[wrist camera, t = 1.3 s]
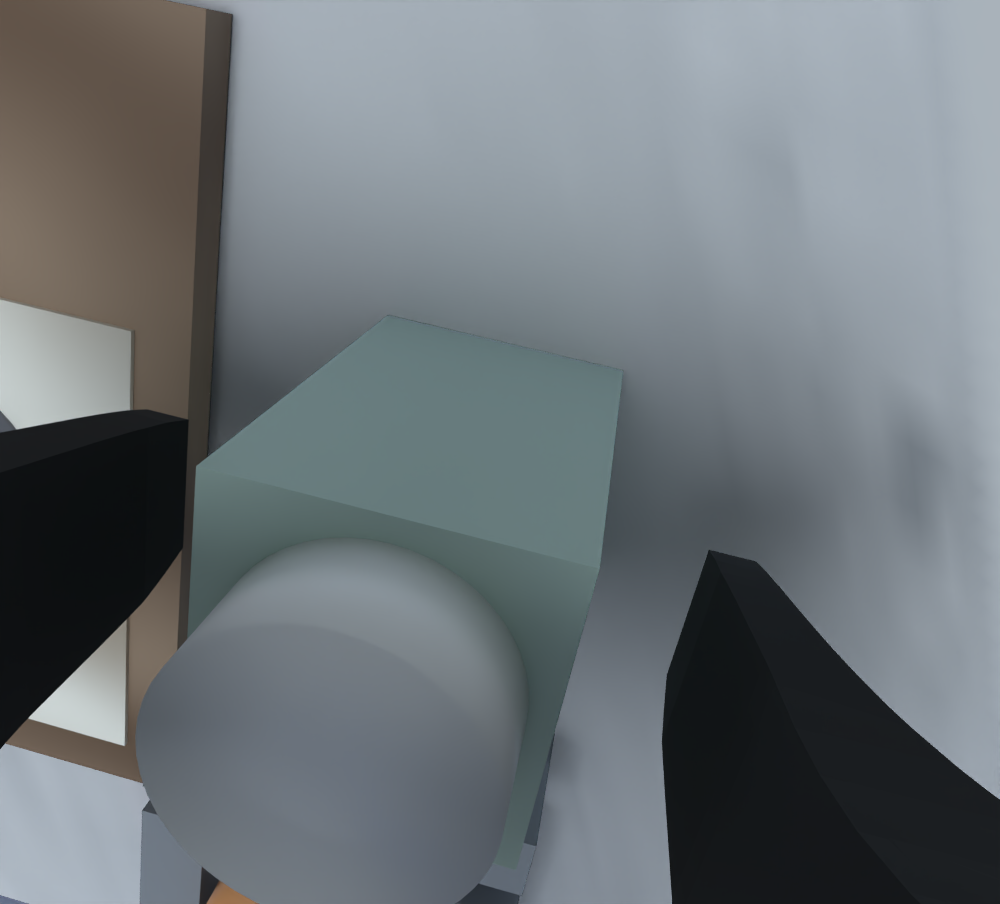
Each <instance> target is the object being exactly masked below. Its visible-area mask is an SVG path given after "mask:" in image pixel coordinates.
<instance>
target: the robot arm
mask: <svg viewBox="0 0 1000 904" xmlns="http://www.w3.org/2000/svg"><path fill="white" fill-rule="evenodd" d="M188 427H189V420H188V419H184V418H180V417H176V416H172V415H168V414H164V413H160V412H156V411H152V410H148V409H142V410H126V411H118V412H110V413H104V414H98V415H92V416H86V417H80V418H75V419H70V420H64V421H59V422H53V423H48V424H43V425H38V426H32V427H27V428H22V429H16V430H11V431H6V432H1V433H0V749H1V748H2V746H3V745H4V744H5V743H6V742H7V741H8V740H9V739H10V737H11V736H12V735H13V734H14V733H15V732H16V731H17V730H18V729H19V728H20V727H21V725H22V724H23V723H24V722H25V721H26V720H27V719H28V718H29V717H30V716H31V715H32V714H33V713H34V712H35V711H36V710H37V709H38V708H39V707H40V706H41V705H42V704H43V703H44V702H45V701H46V700H47V699H48V698H49V697H50V696H51V695H52V694H53V693H54V692H55V691H56V690H57V689H58V688H59V687H60V686H61V685H62V684H63V683H64V682H65V681H66V680H67V679H68V678H69V677H70V676H71V675H72V674H73V673H74V672H75V671H76V670H77V669H78V668H79V667H80V666H81V665H82V664H83V663H84V662H85V661H86V660H87V659H88V658H89V657H90V656H91V655H92V654H93V653H94V652H95V651H96V650H97V649H98V648H99V647H100V646H101V645H102V644H103V643H104V642H105V641H106V640H107V639H108V638H109V637H110V636H111V635H112V634H113V633H114V632H115V631H116V630H117V629H118V628H119V627H120V626H121V625H122V624H123V623H124V622H125V621H126V620H127V619H128V618H129V617H130V615H131V614H132V613H133V612H134V611H135V610H136V609H137V608H138V607H139V606H140V605H141V604H142V603H143V602H144V601H145V599H146V598H147V597H148V596H149V594H150V593H151V592H152V590H153V589H154V588H155V586H156V585H157V584H158V582H159V581H160V580H161V578H162V577H163V576H164V574H165V573H166V571H167V570H168V569H169V567H170V566H171V564H172V563H173V561H174V560H175V559H176V557H177V556H178V554H179V553H180V551H181V550H182V549H183V541H184V518H185V495H186V472H187V450H188ZM662 750H663V768H664V784H665V800H666V815H667V830H668V845H669V860H670V875H671V890H672V904H1000V799H998V798H997V797H995V796H994V795H993V794H991V793H990V792H989V791H987V790H986V789H985V788H983V787H982V786H981V785H980V784H978V783H977V782H976V781H974V780H973V779H972V778H971V777H969V776H968V775H967V774H965V773H964V772H963V771H962V770H960V769H959V768H958V767H957V766H955V765H954V764H953V763H952V762H951V761H950V760H948V759H947V758H946V757H945V756H944V755H943V754H941V753H940V752H939V751H938V750H937V749H936V748H934V747H933V746H932V745H931V744H930V743H929V742H927V741H926V740H925V739H924V738H923V737H922V736H920V735H919V734H918V733H917V732H916V731H915V730H913V729H912V728H911V727H910V726H909V725H908V724H907V723H906V722H905V721H903V720H902V719H901V718H900V717H899V716H898V715H897V714H896V713H895V712H894V711H893V710H892V709H891V708H890V707H888V706H887V705H886V704H885V703H884V702H883V701H882V700H881V699H880V698H879V697H878V696H877V695H876V694H875V693H874V692H873V691H872V690H871V689H870V688H869V687H868V686H867V685H866V684H865V683H864V682H863V681H862V680H861V678H860V677H859V676H858V675H857V674H856V673H855V672H854V671H853V670H852V669H851V668H850V667H849V666H848V665H847V664H846V663H845V662H844V661H843V660H842V659H841V657H840V656H839V655H838V654H837V653H836V652H835V651H834V650H833V649H832V648H831V646H830V645H829V644H828V643H827V642H826V641H825V640H824V639H823V637H822V636H821V635H820V634H819V633H818V632H817V631H816V629H815V628H814V627H813V626H812V625H811V624H810V623H809V621H808V620H807V619H806V618H805V617H804V616H803V614H802V613H801V612H800V611H799V610H798V608H797V607H796V606H795V605H794V604H793V603H792V601H791V600H790V599H789V598H788V597H787V595H786V594H785V593H784V592H783V591H782V590H781V588H780V587H779V586H778V585H777V584H776V583H775V581H774V580H773V579H772V578H771V577H770V576H769V575H768V573H767V572H766V571H765V570H764V569H763V568H762V567H761V566H760V565H759V564H758V563H757V562H755V561H751V560H747V559H743V558H739V557H735V556H731V555H727V554H723V553H719V552H715V551H711V550H709V551H708V554H707V557H706V560H705V563H704V566H703V569H702V572H701V575H700V578H699V581H698V584H697V587H696V590H695V593H694V596H693V599H692V602H691V605H690V608H689V611H688V614H687V617H686V620H685V623H684V626H683V629H682V632H681V635H680V638H679V641H678V644H677V646H676V649H675V652H674V655H673V658H672V661H671V664H670V667H669V670H668V673H667V680H666V692H665V704H664V718H663V733H662ZM0 904H27V903H24V902H21V901H18V900H14V899H11V898H8V897H4V896H1V895H0Z"/></svg>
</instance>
